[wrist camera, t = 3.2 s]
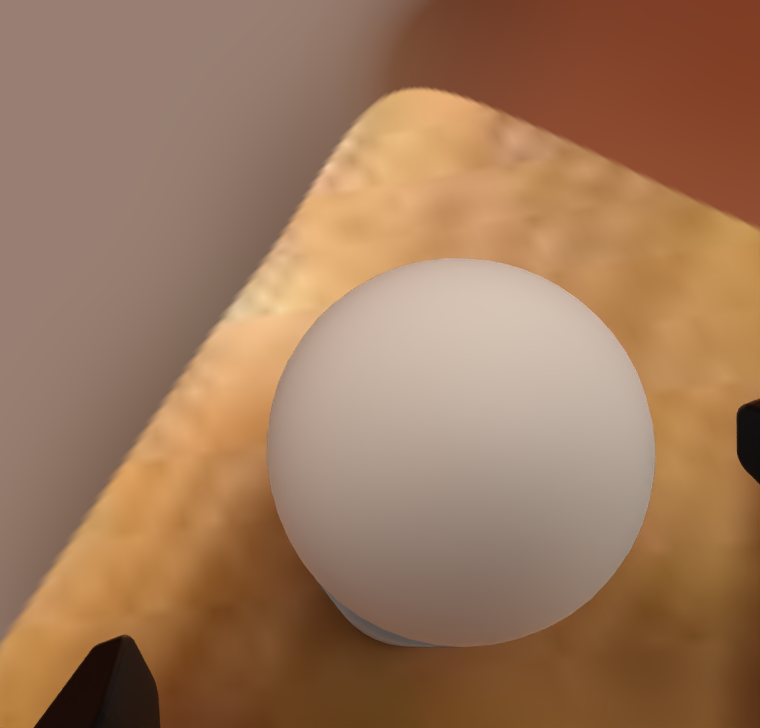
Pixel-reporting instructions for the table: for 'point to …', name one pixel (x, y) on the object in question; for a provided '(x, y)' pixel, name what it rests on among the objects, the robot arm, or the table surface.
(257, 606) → the table surface
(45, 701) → the table surface
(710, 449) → the table surface
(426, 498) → the ball-topped blue post
